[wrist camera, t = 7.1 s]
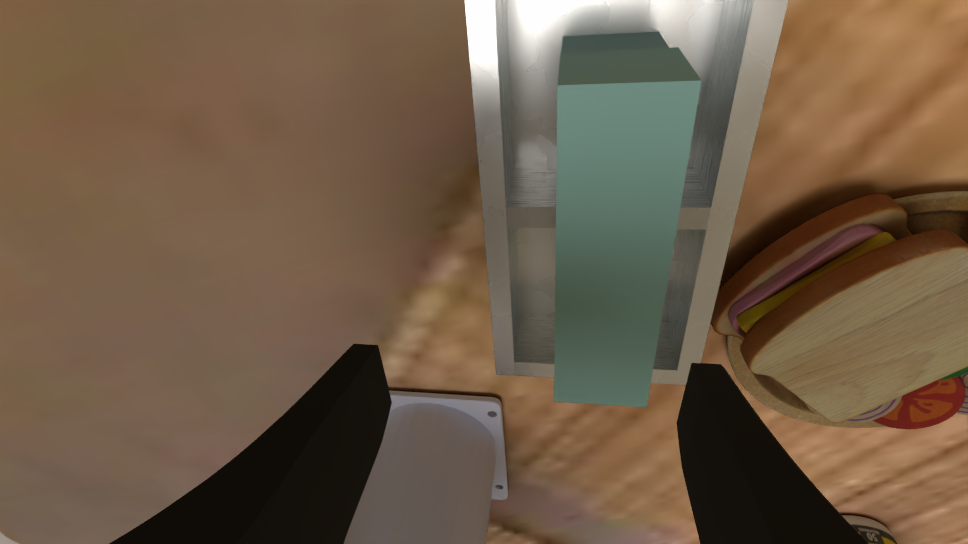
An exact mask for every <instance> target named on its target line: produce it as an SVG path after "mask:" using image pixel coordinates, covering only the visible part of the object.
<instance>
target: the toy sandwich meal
mask: <svg viewBox="0 0 968 544" xmlns="http://www.w3.org/2000/svg"><path fill="white" fill-rule="evenodd" d="M710 323H711V325H712V327H713V329H714V330H715V331H716V332H717V333H719V334H723V335H728V355H729V360H730V363H731V366H732V368H733V371H734V373H735V375H736V377H737V378H738V380H739V381H740V383H741V384H742V385H743V386H744V388H745V389H746V390H747V391H748V392H749V393H750V394H751V395H752V396H754V397H755V398H756V399H757V400H759V401H760V402H762V403H763V404H765V405H766V406H768V407H770V408H772V409H774V410H775V411H777V412H780V413H782V414H784V415H787V416H790V417H792V418H795V419H798V420H802V421H806V422H810V423H815V424H820V425H825V426H834V427H846V428H873V427H886V426H887V427H892V428H899V429H918V428H925V427H929V426H933V425H936V424H939V423H941V422H943V421H945V420H947V419H949V418H950V417H952V416H953V415H954V414H955V413H959V414H967V415H968V191H944V192H933V193H924V194H918V195H912V196H907V197H902V198H897V199H892V198H891V197H889V196H888V195H886V194H873V195H867V196H864V197H861V198H857V199H854V200H852V201H849V202H846V203H844V204H841V205H839V206H837V207H835V208H833V209H830V210H828V211H826V212H824V213H822V214H820V215H818V216H816V217H814V218H812V219H810V220H808V221H807V222H805V223H803V224H802V225H800V226H798V227H797V228H795V229H793V230H792V231H790V232H788V233H787V234H785V235H784V236H782V237H781V238H779V239H778V240H776V241H775V242H774V243H772V244H771V245H769V246H768V247H767V248H765V249H764V250H763V251H761V252H760V253H759V254H758V255H756V256H755V257H754V258H752V259H751V260H750V261H749V262H748V263H747V264H745V265H744V266H743V267H742V268H741V269H740V270H739V271H738V272H737V273H736V274H735V275H733V276H732V278H731V279H730V280H729V281H728V282H727V283H726V284H725V285H724V286H723V287H722V288H721V289H720V291H719V292H718V293H717V297H716V301H715V306H714V310H713V314H712V318H711V322H710Z"/></svg>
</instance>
